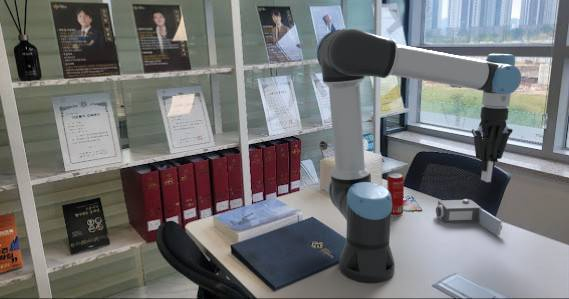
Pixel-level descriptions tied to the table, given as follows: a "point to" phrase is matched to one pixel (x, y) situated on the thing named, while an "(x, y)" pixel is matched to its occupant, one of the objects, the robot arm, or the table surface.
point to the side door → (489, 221)
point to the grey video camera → (458, 211)
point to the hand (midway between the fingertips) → (485, 180)
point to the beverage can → (396, 192)
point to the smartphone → (410, 205)
